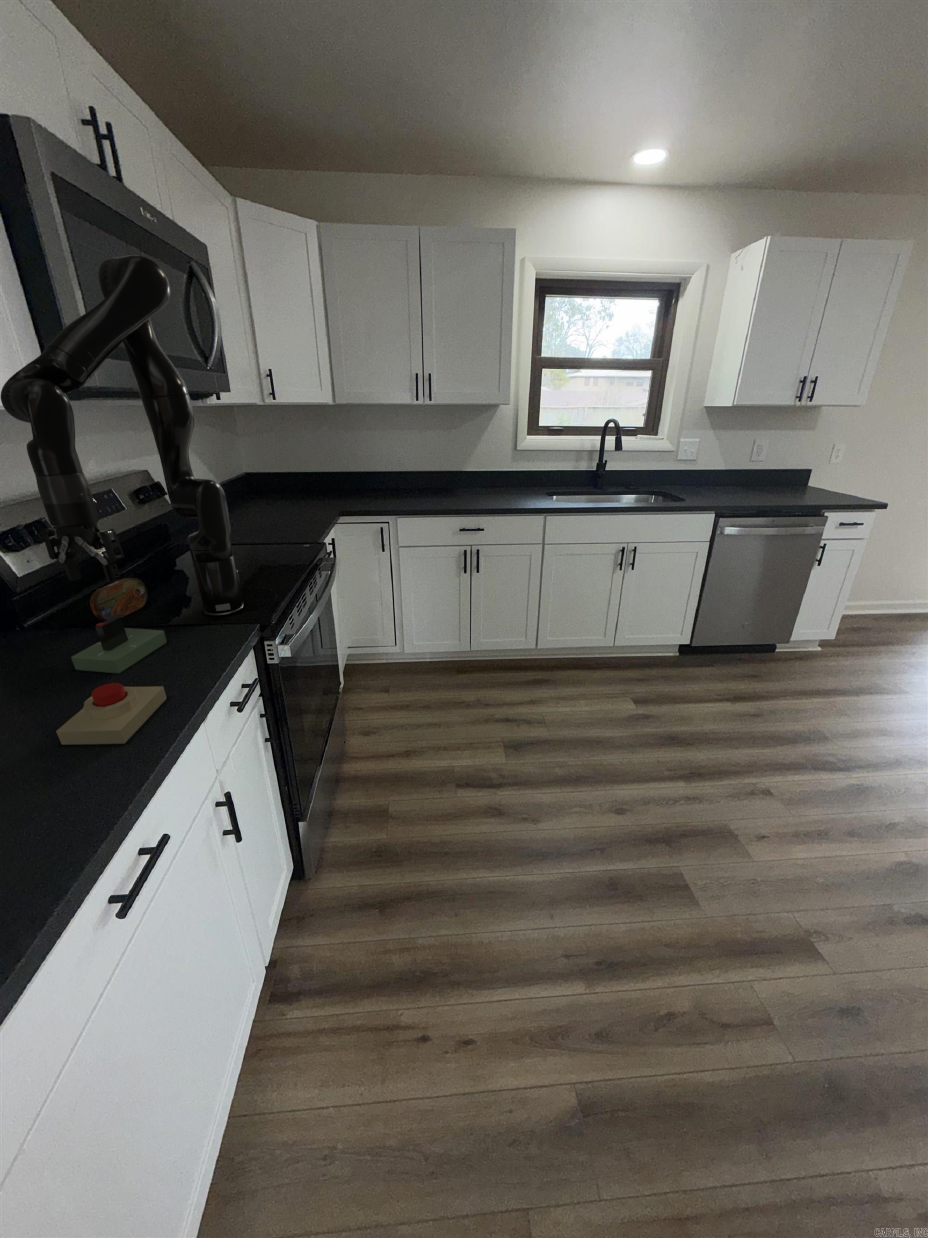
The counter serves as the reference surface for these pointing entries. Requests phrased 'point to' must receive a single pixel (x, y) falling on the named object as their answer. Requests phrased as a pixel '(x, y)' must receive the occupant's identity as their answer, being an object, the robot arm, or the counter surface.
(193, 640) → the counter surface
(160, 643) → the panel
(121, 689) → the power button
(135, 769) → the counter surface
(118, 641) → the black upright block
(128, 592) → the tin
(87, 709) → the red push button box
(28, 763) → the counter surface
